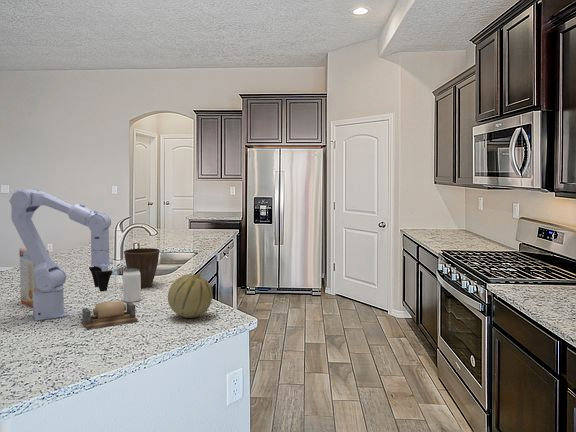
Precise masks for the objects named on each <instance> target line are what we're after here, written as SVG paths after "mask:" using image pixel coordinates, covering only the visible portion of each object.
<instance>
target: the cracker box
mask: <svg viewBox="0 0 576 432" xmlns="http://www.w3.org/2000/svg"><path fill="white" fill-rule="evenodd" d="M46 250H47V252H48V254H49V253H50V250H48V249H46ZM18 254H19V280H20V281H19V282H20V283H19V284H20V286H19V287H20V302H21V303H23V304H24V305H25V304H26V305H28V306H30V307H31V308H33V293H34V292H38V291H40V290H39V289H38V287H37V286H36V278H35V275H34V271H35V265H34V263H33V261H32V259H31V257H30V255H29V253H28V251H27V249H26V247H21V248H19V253H18ZM49 255H50V254H49Z"/></svg>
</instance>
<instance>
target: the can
mask: <svg viewBox="0 0 576 432" xmlns="http://www.w3.org/2000/svg"><path fill="white" fill-rule="evenodd" d="M122 286H123V287H122V289H123V290H122V294H123V295H122V297H123V300H122V301H123V302H124V303H128V302H131V303H137V302H140V301H141V299H142V288H141V275H140V272H139V269H127V268H125V269H124V270H123V274H122Z"/></svg>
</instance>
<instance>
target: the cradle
mask: <svg viewBox="0 0 576 432" xmlns="http://www.w3.org/2000/svg"><path fill="white" fill-rule="evenodd" d="M125 305H126V311H124V315H120V316H113V317H106V318H100V319H97V318H96V315H92V314H91V310H90V309H89V307H83V308H82V309H81V312H82V318H80V322H81V324H82V325H83V326H84V328H85V329H87V330H93V329H101V328H106V327H113V326H119V325H120V326H121V325H127V324H133V323H138V322H139V319H138V317H137V316H136V304H134V302H125Z"/></svg>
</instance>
